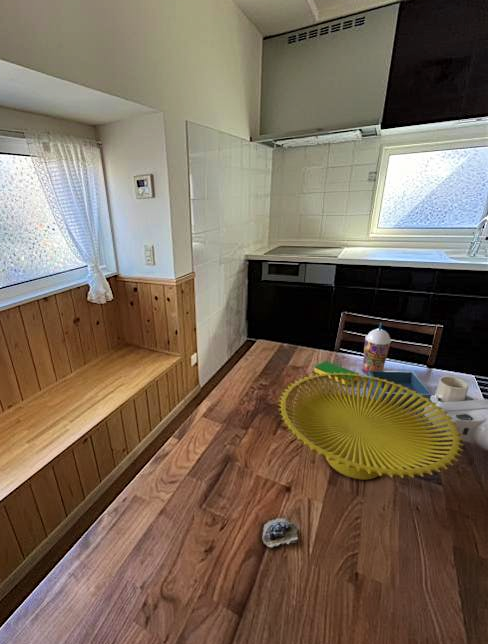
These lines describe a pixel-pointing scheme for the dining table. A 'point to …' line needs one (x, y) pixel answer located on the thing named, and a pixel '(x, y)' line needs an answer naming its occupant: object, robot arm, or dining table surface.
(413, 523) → the dining table surface
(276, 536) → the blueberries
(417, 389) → the basin
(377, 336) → the smoothie
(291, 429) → the yellow slatted bowl
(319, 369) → the dish sponge
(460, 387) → the cup
